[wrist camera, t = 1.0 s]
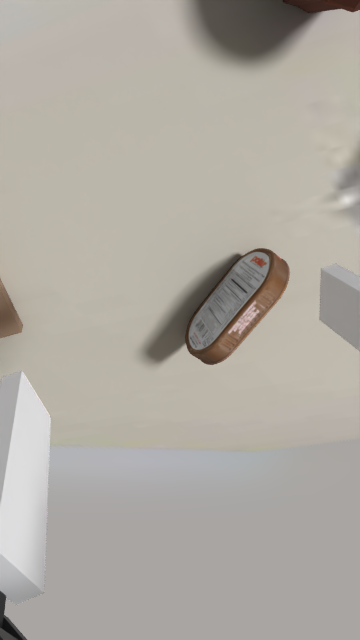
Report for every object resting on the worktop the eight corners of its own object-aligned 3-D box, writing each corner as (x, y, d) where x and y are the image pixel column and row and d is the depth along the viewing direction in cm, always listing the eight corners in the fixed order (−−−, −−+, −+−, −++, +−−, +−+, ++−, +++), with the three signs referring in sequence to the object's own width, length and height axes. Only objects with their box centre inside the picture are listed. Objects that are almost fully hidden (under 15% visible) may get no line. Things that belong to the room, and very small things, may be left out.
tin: (191, 341, 46) (215, 381, 39) (173, 331, 44) (194, 370, 37) (266, 250, 42) (307, 274, 35) (249, 235, 41) (289, 258, 34)
